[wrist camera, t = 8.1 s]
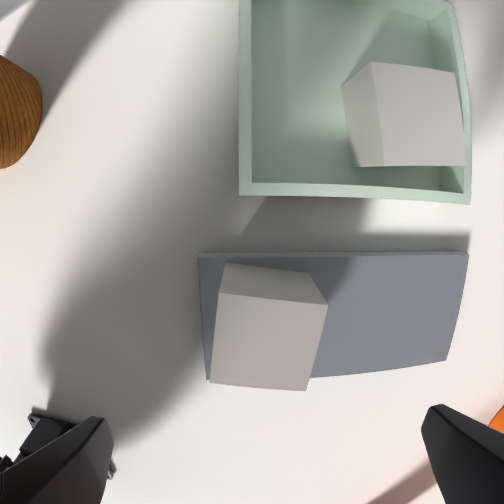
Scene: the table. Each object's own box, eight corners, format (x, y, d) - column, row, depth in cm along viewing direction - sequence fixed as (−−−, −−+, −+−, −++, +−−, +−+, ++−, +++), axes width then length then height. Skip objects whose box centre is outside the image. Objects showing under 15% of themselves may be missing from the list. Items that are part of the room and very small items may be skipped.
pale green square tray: (438, 198, 16) (470, 204, 13) (240, 191, 15) (238, 195, 13) (427, 22, 13) (452, 3, 10) (240, -6, 13) (239, -35, 10)
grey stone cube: (293, 344, 16) (305, 391, 12) (217, 336, 16) (209, 382, 12) (308, 273, 15) (328, 304, 12) (225, 262, 15) (218, 292, 11)
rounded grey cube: (420, 165, 14) (466, 166, 11) (350, 167, 14) (384, 166, 11) (412, 90, 13) (454, 73, 10) (341, 87, 14) (370, 61, 10)
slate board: (439, 353, 18) (446, 360, 17) (208, 369, 18) (206, 379, 17) (459, 250, 16) (468, 254, 15) (201, 252, 16) (198, 257, 15)
